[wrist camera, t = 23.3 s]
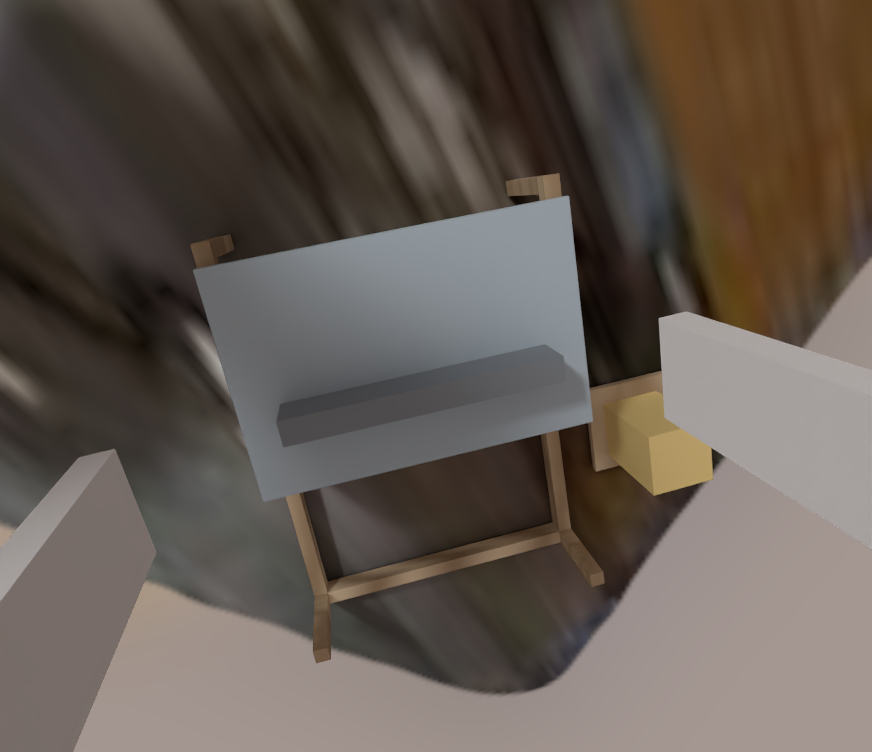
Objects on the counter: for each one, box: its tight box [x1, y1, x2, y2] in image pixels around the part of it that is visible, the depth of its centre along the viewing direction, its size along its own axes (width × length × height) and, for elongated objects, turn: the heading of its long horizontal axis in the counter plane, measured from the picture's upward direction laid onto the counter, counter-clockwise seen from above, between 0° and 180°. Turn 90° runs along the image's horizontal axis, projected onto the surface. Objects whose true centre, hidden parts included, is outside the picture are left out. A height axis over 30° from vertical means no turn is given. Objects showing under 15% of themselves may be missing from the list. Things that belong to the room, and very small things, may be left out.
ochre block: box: [603, 391, 713, 496], centre depth 44 cm, size 4×4×7 cm
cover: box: [193, 196, 593, 502], centre depth 34 cm, size 21×14×4 cm, turn 101°
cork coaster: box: [588, 371, 663, 471], centre depth 48 cm, size 7×7×1 cm
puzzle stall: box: [190, 173, 604, 663], centre depth 41 cm, size 21×28×8 cm
